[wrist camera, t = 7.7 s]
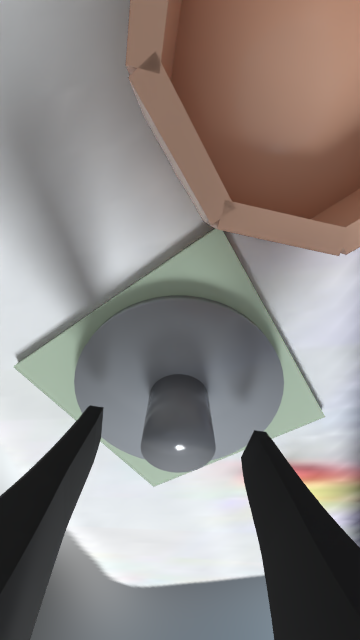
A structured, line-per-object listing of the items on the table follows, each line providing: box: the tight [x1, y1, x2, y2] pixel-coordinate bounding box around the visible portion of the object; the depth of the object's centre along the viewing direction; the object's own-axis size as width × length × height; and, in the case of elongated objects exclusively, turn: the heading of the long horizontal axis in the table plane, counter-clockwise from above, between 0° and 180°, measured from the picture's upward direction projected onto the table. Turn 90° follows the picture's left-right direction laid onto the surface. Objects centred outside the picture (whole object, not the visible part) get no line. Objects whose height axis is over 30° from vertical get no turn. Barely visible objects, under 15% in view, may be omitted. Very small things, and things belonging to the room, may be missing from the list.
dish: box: [126, 0, 360, 256], centre depth 7 cm, size 10×10×3 cm
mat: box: [14, 228, 325, 487], centre depth 14 cm, size 13×13×1 cm
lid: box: [74, 295, 284, 473], centre depth 12 cm, size 11×11×4 cm
